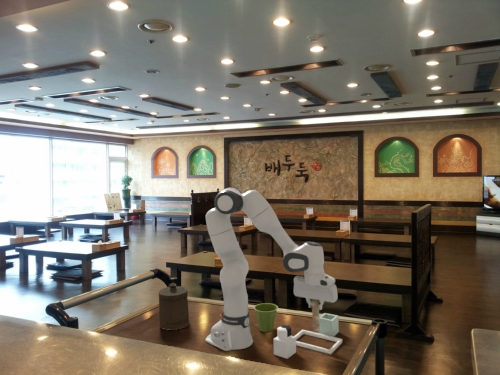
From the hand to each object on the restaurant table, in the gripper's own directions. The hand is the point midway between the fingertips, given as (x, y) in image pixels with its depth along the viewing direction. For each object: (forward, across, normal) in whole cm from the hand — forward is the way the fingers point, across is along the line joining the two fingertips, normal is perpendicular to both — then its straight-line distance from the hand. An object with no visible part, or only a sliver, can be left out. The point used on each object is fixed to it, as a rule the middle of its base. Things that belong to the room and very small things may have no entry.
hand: (315, 308), depth 185 cm
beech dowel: (+10, 0, 0) cm, 10 cm away
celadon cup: (+17, +1, +12) cm, 21 cm away
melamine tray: (+17, 0, 0) cm, 17 cm away
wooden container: (+16, -72, -16) cm, 76 cm away
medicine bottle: (+17, -8, -14) cm, 24 cm away
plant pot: (+17, -28, +3) cm, 33 cm away
